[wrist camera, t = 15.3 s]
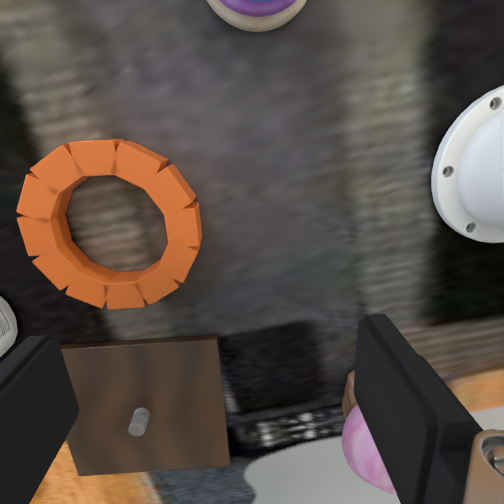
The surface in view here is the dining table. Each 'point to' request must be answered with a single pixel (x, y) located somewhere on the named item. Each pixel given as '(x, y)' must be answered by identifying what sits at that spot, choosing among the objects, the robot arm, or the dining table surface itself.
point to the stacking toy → (257, 12)
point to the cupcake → (361, 443)
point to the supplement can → (7, 327)
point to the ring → (67, 252)
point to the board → (147, 405)
